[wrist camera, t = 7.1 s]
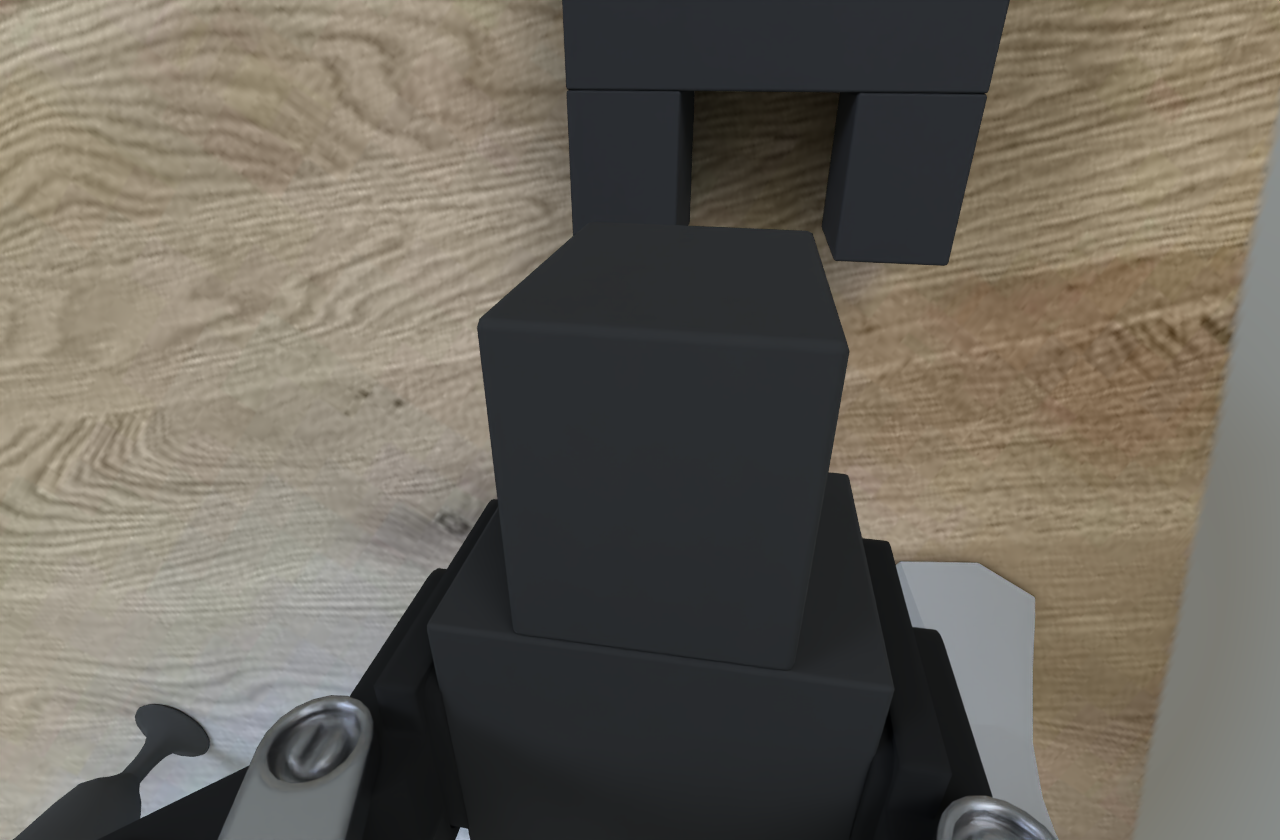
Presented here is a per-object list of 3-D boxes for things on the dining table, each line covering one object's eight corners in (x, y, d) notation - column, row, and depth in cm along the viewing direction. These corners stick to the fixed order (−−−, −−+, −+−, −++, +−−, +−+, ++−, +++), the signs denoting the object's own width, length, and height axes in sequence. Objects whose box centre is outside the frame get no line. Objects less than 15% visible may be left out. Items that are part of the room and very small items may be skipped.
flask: (885, 534, 26) (949, 771, 17) (1066, 582, 25) (1226, 849, 17) (823, 654, 29) (850, 901, 21) (981, 698, 29) (1075, 967, 20)
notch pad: (916, 232, 20) (948, 266, 17) (603, 220, 22) (573, 250, 18) (1003, -195, 15) (1073, -270, 12) (593, -174, 17) (550, -236, 13)
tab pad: (806, 694, 12) (825, 939, 9) (551, 658, 13) (475, 872, 9) (894, 233, 8) (995, 353, 5) (515, 217, 9) (357, 311, 5)
